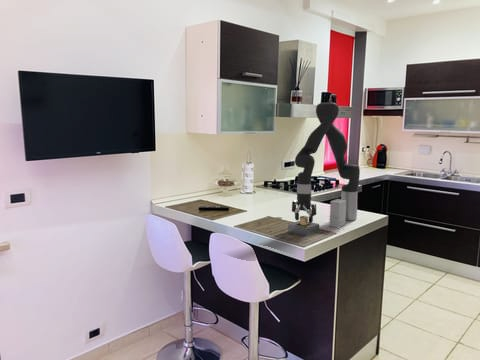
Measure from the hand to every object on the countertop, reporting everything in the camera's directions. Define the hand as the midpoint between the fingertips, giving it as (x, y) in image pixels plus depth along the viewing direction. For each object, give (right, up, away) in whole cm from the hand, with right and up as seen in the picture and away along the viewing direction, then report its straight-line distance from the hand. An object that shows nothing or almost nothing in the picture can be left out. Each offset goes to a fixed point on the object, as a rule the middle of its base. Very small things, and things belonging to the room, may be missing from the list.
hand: (303, 221), depth 207 cm
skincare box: (+21, -4, +11) cm, 24 cm away
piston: (0, -6, +1) cm, 6 cm away
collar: (0, -6, +1) cm, 6 cm away
